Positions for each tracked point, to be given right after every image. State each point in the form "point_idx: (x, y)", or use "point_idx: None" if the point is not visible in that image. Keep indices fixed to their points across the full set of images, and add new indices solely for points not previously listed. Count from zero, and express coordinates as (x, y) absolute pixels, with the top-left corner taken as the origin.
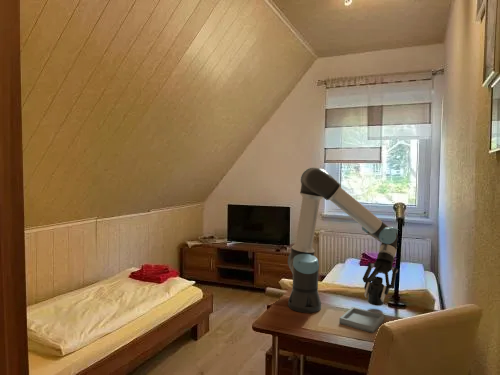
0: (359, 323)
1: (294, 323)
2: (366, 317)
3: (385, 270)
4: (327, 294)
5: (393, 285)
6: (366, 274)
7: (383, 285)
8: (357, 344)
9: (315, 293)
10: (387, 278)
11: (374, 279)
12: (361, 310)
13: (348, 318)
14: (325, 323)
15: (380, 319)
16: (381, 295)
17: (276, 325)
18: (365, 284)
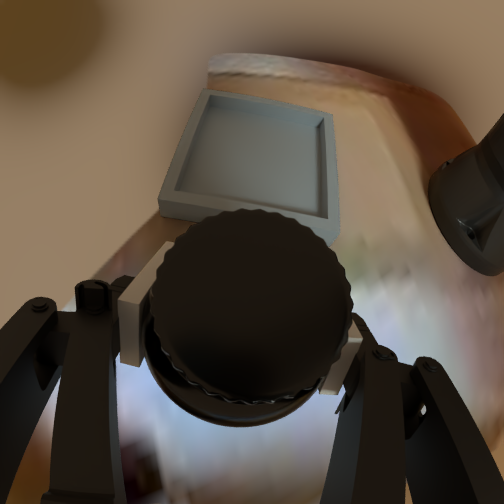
0: (254, 96)
1: (411, 111)
2: (246, 187)
3: None
4: (484, 405)
5: (28, 308)
6: (450, 417)
7: (149, 313)
8: (235, 58)
9: (478, 160)
10: (70, 386)
11: (284, 222)
12: (285, 212)
13: (312, 153)
14: (359, 122)
15: (176, 149)
16: None
17: (425, 100)
18: (370, 336)
